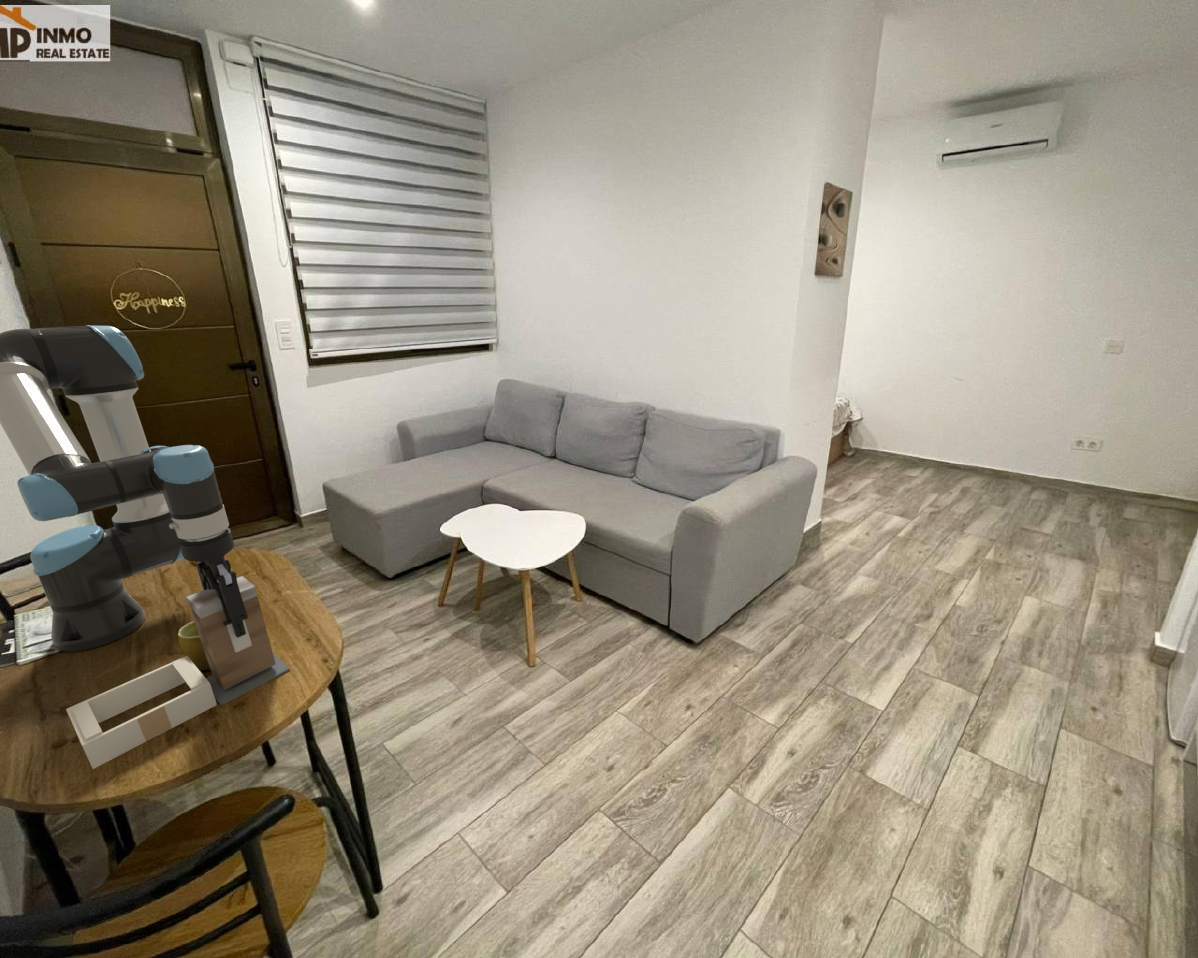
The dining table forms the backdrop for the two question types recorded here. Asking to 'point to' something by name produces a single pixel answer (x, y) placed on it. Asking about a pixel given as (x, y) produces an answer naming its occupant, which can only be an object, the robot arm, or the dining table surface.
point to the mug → (193, 646)
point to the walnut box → (217, 640)
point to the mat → (247, 682)
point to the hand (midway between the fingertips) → (236, 640)
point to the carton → (146, 724)
